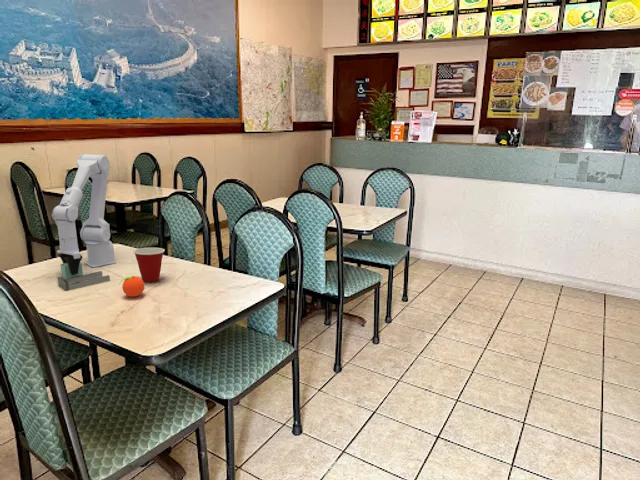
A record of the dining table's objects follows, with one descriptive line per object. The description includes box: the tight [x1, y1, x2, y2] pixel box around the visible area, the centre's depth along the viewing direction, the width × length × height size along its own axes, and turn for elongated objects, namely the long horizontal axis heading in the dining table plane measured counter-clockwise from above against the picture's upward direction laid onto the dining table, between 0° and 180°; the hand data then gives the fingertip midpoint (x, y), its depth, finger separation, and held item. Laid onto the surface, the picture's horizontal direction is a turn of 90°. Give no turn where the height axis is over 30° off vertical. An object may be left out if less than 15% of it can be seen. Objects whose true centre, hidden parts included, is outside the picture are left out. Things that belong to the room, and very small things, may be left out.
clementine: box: [118, 276, 145, 298], centre depth 152 cm, size 8×7×7 cm
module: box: [60, 262, 84, 279], centre depth 169 cm, size 6×4×5 cm, turn 138°
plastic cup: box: [132, 247, 166, 284], centre depth 166 cm, size 11×11×12 cm
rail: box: [57, 270, 111, 292], centre depth 163 cm, size 15×7×3 cm, turn 138°
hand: (72, 272), depth 169 cm, fingers closed on module, 4 cm apart
